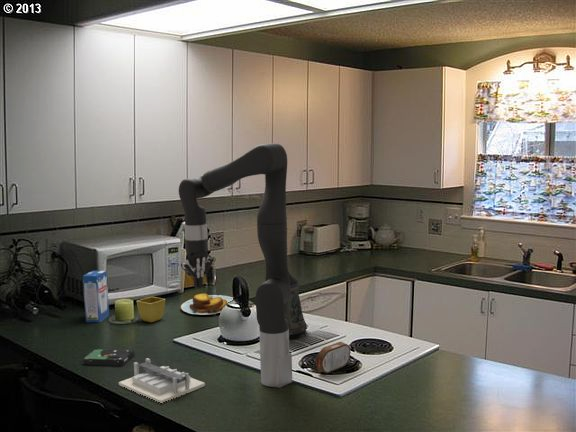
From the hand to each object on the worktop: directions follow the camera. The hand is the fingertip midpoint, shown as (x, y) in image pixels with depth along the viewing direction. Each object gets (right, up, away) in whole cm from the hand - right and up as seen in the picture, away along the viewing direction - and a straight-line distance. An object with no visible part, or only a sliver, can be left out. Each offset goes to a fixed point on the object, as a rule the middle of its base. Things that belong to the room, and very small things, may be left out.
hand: (198, 287), depth 219 cm
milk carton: (-52, -20, +60) cm, 82 cm away
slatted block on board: (-10, -29, -13) cm, 34 cm away
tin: (+46, -27, -3) cm, 53 cm away
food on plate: (-5, -18, +71) cm, 74 cm away
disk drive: (-33, -27, +11) cm, 44 cm away
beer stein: (+30, -22, +32) cm, 49 cm away
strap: (-10, -26, -14) cm, 31 cm away
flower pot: (-27, -20, +56) cm, 65 cm away
